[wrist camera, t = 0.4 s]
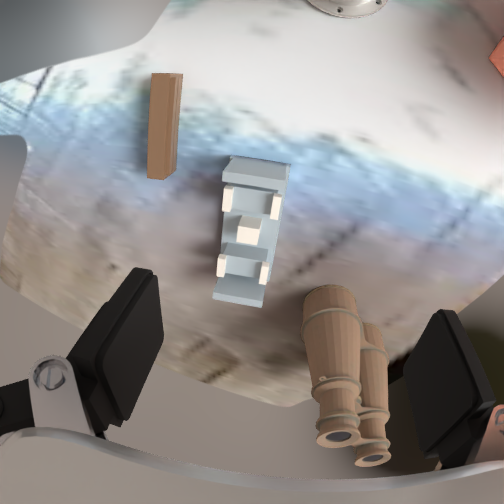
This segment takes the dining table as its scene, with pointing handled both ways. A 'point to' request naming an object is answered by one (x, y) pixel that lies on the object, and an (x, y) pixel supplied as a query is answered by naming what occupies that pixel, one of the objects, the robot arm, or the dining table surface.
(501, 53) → the chair
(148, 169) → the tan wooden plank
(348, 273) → the dining table surface
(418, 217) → the dining table surface
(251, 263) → the display cradle
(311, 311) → the binoculars
